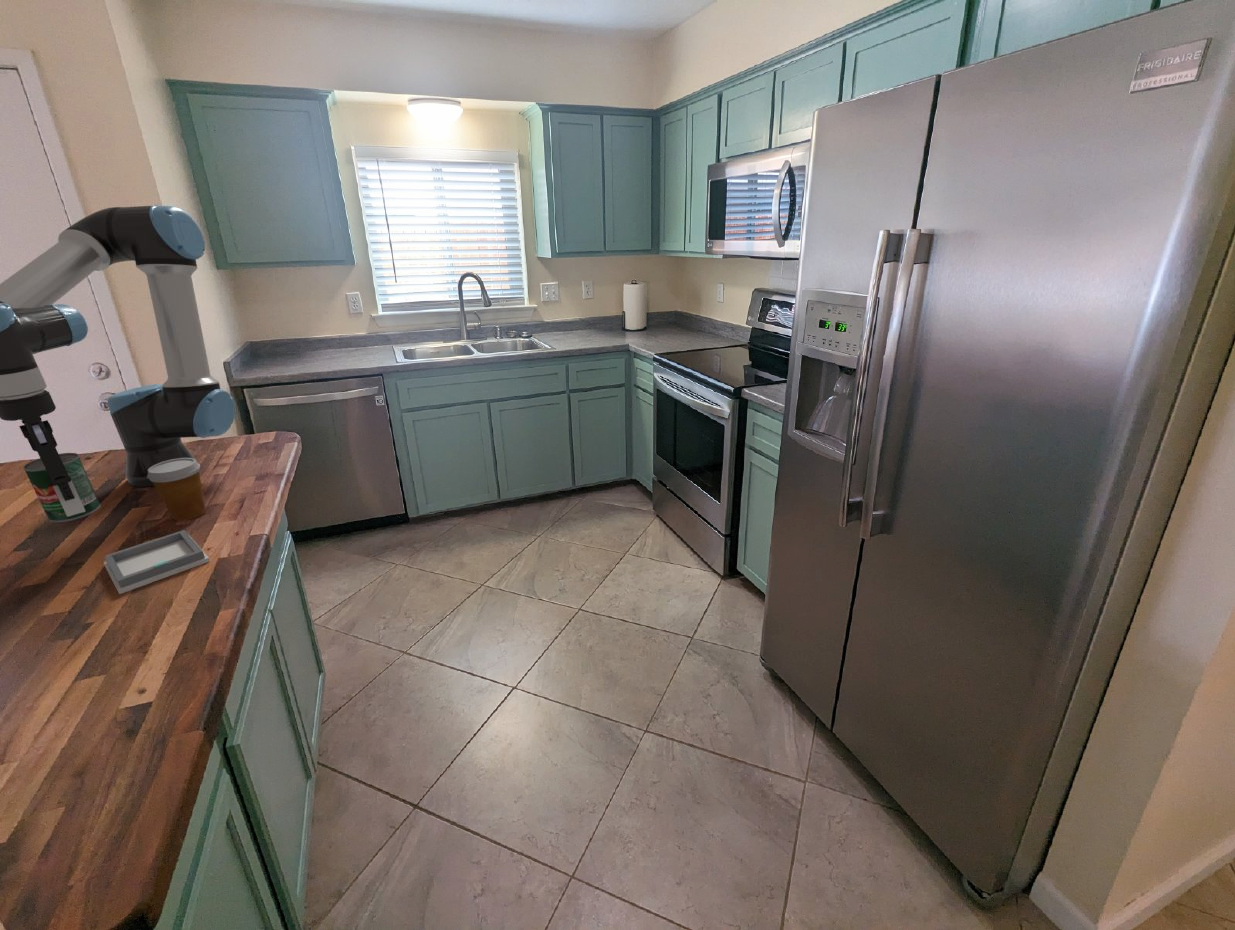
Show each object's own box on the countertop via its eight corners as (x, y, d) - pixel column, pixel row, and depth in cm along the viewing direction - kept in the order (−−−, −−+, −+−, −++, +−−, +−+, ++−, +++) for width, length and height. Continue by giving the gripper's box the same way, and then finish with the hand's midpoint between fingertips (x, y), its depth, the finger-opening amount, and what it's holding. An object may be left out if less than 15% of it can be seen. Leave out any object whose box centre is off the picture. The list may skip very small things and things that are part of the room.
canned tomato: (42, 526, 109) (15, 473, 105) (55, 509, 116) (31, 458, 111) (95, 515, 113) (71, 463, 108) (105, 499, 119) (83, 449, 114)
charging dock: (104, 566, 112) (100, 555, 111) (190, 537, 122) (186, 527, 121) (119, 594, 103) (114, 582, 102) (210, 561, 113) (206, 550, 112)
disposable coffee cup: (189, 525, 127) (171, 475, 122) (152, 522, 128) (133, 472, 124) (224, 506, 135) (208, 457, 130) (190, 503, 137) (173, 455, 132)
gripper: (-14, 388, 108) (40, 498, 118) (-5, 411, 95) (54, 531, 105) (40, 379, 113) (88, 485, 123) (55, 399, 100) (107, 515, 110)
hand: (72, 506), depth 114 cm, fingers closed on canned tomato, 8 cm apart
